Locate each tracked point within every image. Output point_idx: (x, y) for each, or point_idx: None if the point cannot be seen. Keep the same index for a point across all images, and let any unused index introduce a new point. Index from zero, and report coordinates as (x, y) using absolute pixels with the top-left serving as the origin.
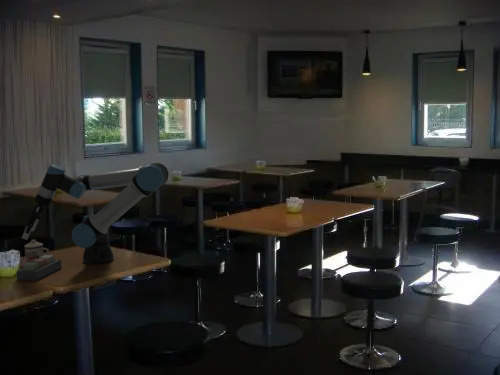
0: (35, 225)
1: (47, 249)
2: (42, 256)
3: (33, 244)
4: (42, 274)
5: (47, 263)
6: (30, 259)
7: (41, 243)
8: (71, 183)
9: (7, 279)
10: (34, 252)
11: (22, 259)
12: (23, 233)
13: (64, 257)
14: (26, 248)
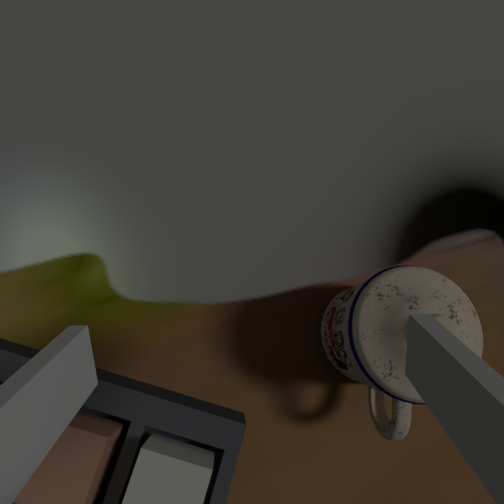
0: (450, 425)
1: (397, 436)
2: (168, 462)
3: (389, 340)
4: None
5: (112, 501)
6: (328, 320)
7: None
8: None
9: (29, 279)
10: (344, 349)
11: (447, 242)
12: (35, 356)
13: (474, 489)
14: (357, 292)
